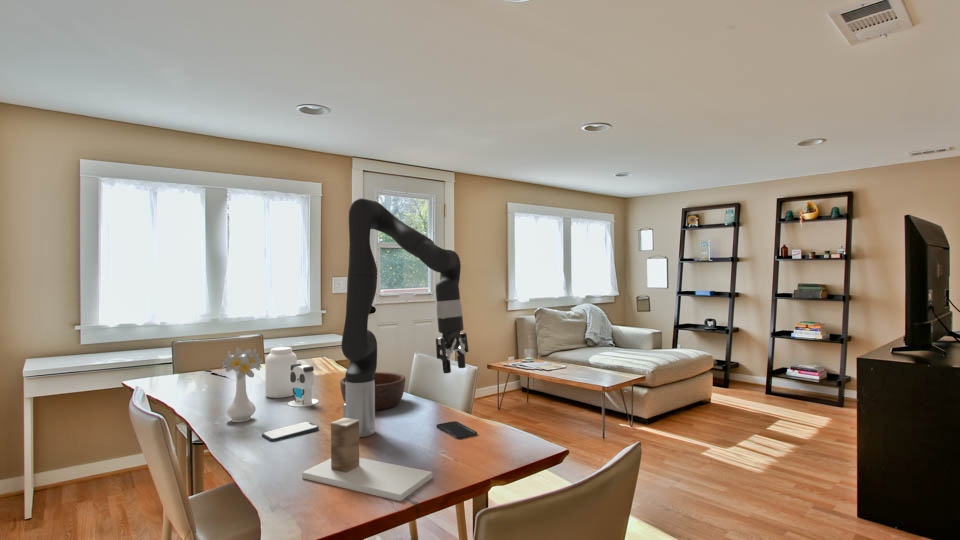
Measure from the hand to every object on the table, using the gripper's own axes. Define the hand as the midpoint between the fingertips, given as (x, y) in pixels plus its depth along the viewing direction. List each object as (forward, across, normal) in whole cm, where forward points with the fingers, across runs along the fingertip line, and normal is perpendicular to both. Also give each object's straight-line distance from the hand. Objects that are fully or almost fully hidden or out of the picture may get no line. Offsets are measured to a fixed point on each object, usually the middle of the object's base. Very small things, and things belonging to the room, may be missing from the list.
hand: (454, 370), depth 148 cm
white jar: (+12, -21, -100) cm, 103 cm away
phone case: (+18, +12, -57) cm, 61 cm away
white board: (+22, +29, -11) cm, 38 cm away
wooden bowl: (+17, -27, -55) cm, 64 cm away
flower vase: (+14, +10, -83) cm, 85 cm away
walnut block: (+20, +29, -18) cm, 39 cm away
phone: (+22, -14, -10) cm, 28 cm away
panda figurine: (+14, -16, -82) cm, 84 cm away
